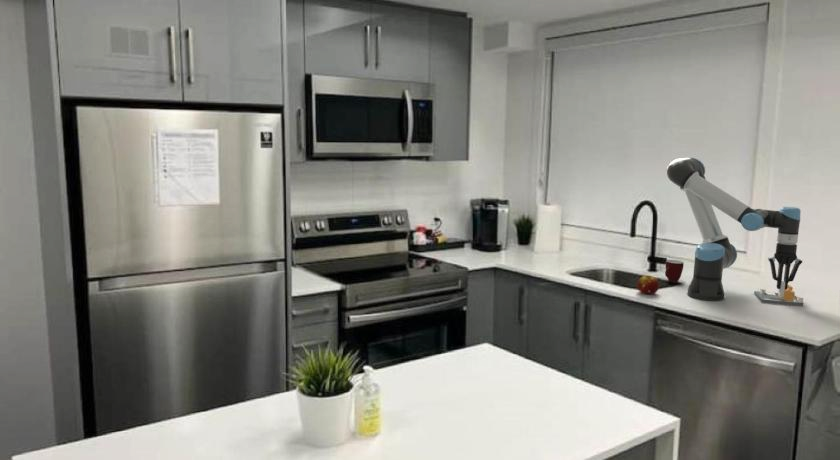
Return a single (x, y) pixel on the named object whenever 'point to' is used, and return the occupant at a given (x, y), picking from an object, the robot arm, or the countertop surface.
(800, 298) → the switch board
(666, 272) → the mug
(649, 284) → the fruit
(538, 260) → the countertop surface
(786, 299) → the tab front
